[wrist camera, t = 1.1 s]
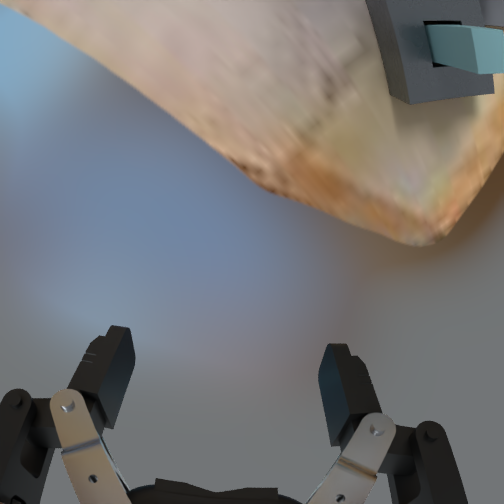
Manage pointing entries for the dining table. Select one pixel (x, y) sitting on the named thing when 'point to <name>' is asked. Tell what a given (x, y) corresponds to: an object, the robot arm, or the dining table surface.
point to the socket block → (424, 49)
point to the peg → (467, 47)
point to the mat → (492, 12)
